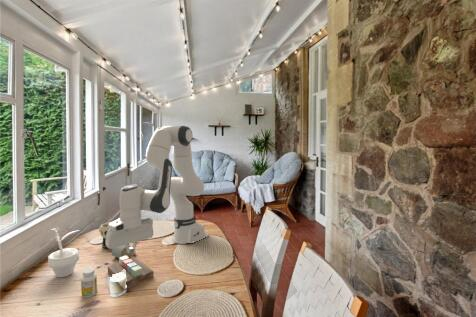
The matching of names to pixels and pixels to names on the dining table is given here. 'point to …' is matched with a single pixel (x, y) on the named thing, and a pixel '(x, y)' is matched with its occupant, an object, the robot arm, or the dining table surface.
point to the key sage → (136, 271)
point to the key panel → (131, 281)
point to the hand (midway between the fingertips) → (131, 251)
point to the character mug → (104, 233)
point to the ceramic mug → (121, 251)
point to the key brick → (126, 263)
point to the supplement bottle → (88, 283)
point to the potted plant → (63, 257)
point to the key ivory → (122, 259)
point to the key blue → (130, 266)
